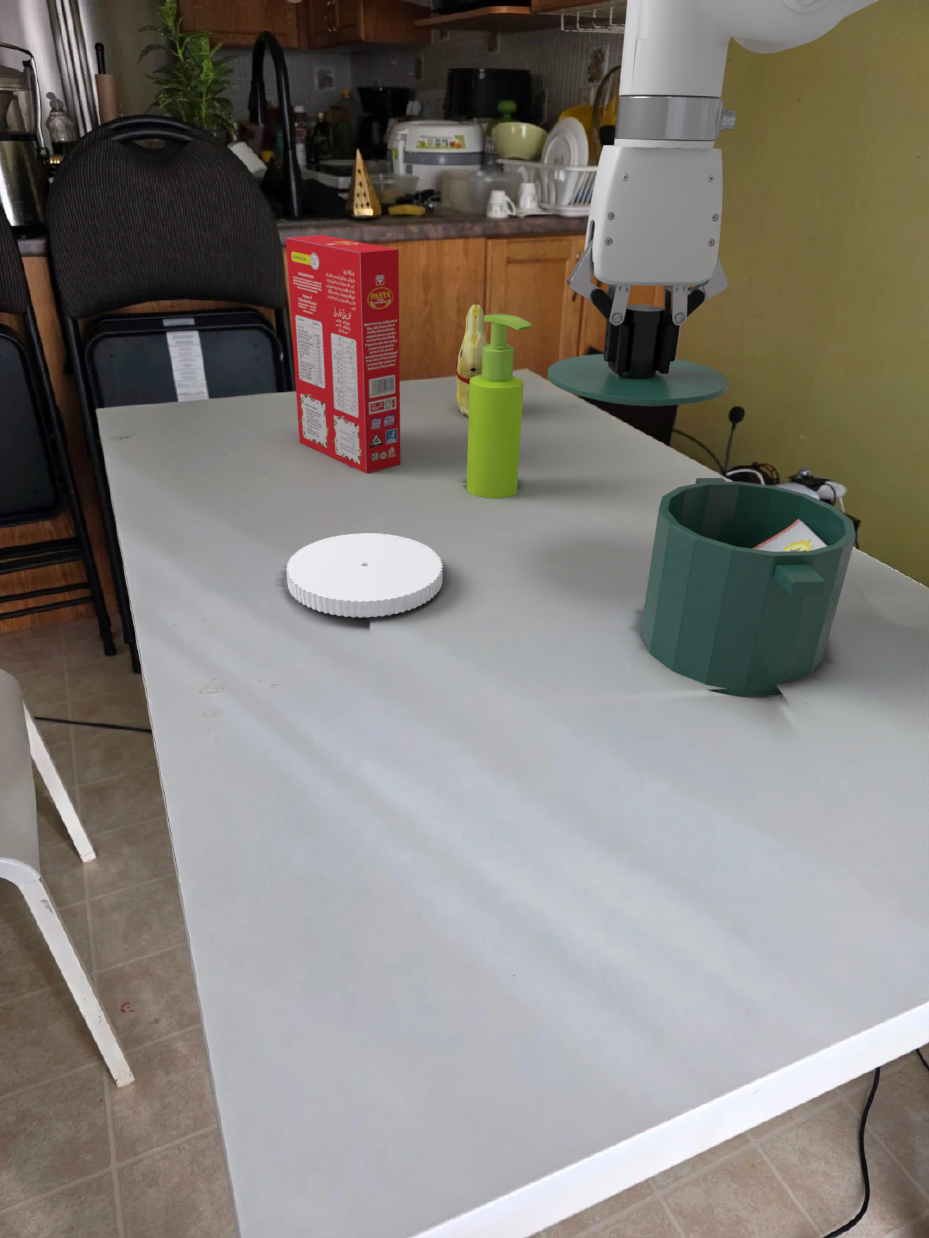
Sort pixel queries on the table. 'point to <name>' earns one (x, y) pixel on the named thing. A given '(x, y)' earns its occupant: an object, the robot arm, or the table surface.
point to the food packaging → (346, 348)
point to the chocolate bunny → (470, 355)
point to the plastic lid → (364, 575)
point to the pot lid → (639, 370)
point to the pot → (742, 585)
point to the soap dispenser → (495, 415)
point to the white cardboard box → (793, 539)
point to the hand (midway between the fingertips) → (637, 368)
